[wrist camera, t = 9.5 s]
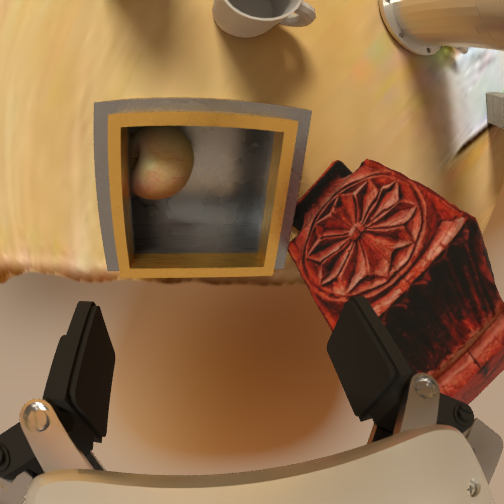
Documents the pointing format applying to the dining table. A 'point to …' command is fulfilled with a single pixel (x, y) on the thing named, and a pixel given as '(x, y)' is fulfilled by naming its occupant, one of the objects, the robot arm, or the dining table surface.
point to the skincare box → (495, 109)
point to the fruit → (159, 161)
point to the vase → (404, 271)
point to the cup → (260, 15)
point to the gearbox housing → (202, 188)
